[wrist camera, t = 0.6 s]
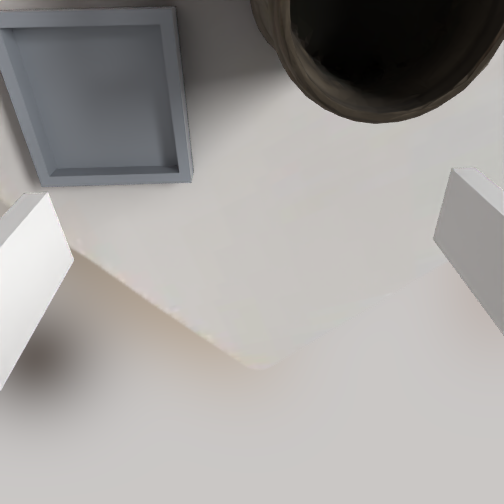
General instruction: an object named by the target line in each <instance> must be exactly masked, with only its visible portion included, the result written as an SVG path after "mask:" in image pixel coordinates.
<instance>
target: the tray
mask: <svg viewBox="0 0 504 504" xmlns="http://www.w3.org/2000/svg"><path fill="white" fill-rule="evenodd" d="M0 70H1V73H2V76H3V79H4V82H5V84H6V87H7V90H8V93H9V96H10V98H11V101H12V104H13V107H14V110H15V113H16V115H17V118H18V121H19V124H20V127H21V129H22V132H23V135H24V138H25V141H26V144H27V146H28V149H29V152H30V155H31V158H32V160H33V163H34V166H35V169H36V172H37V175H38V177H39V180H40V183H41V186H42V187H58V186H92V185H126V184H160V183H191V182H192V177H193V173H194V170H193V161H192V152H191V143H190V133H189V124H188V115H187V106H186V97H185V88H184V78H183V69H182V60H181V51H180V42H179V32H178V23H177V14H176V6H174V7H128V8H81V9H35V10H0Z"/></svg>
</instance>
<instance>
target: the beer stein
mask: <svg viewBox="0 0 504 504" xmlns="http://www.w3.org/2000/svg"><path fill="white" fill-rule="evenodd" d="M250 2H251V7H252V12H253V16H254V18H255V21H256V24H257V26H258V29H259V30H260V32H261V33H262V35H263V36H264V38H265V39H266V41H267V42H268V43H269V44H270V45H271V46H272V47H273V48H274V49H275V50H276V51H277V54H278V56H279V58H280V61H281V63H282V65H283V67H284V69H285V70H286V72H287V74H288V75H289V77H290V78H291V80H292V81H293V82H294V83H295V84H296V85H297V86H298V88H299V89H300V90H301V91H302V92H303V93H304V94H305V96H306V97H308V98H309V99H311V100H312V101H314V102H315V103H316V104H318V105H319V106H321V107H322V108H324V109H325V110H328V111H330V112H332V113H334V114H336V115H338V116H341V117H344V118H347V119H350V120H353V121H357V122H365V123H373V124H378V123H390V122H399V121H404V120H408V119H411V118H415V117H418V116H421V115H423V114H425V113H427V112H429V111H431V110H434V109H436V108H438V107H439V106H441V105H442V104H444V103H445V102H447V101H448V100H450V99H451V98H453V97H454V96H456V95H457V94H459V93H460V92H461V91H463V90H464V89H465V88H466V87H467V86H468V85H469V84H470V83H471V82H472V81H473V80H474V79H475V78H476V77H477V76H478V75H479V73H480V72H481V71H482V70H483V69H484V68H485V67H486V66H487V65H488V63H489V62H490V60H491V59H492V57H493V56H494V54H495V52H496V51H497V49H498V48H499V46H500V44H501V43H502V41H503V40H504V0H250Z"/></svg>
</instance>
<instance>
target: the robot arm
mask: <svg viewBox="0 0 504 504" xmlns="http://www.w3.org/2000/svg"><path fill="white" fill-rule="evenodd" d="M433 240H434V241H435V243H436V244H437V245H438V247H439V248H440V249H441V251H442V252H443V254H444V255H445V256H446V258H447V259H448V260H449V262H450V263H451V264H452V266H453V267H454V268H455V270H456V271H457V273H458V274H459V275H460V277H461V278H462V279H463V281H464V282H465V283H466V284H467V286H468V288H469V289H470V290H471V292H472V293H473V294H474V296H475V297H476V298H477V300H478V301H479V302H480V304H481V305H482V307H483V308H484V309H485V310H486V312H487V313H488V315H489V316H490V317H491V319H492V320H493V322H494V323H495V324H496V325H497V327H498V328H499V330H500V331H501V332H502V334H503V335H504V190H503V189H502V188H500V187H499V186H498V185H497V184H495V183H494V182H493V181H492V180H490V179H489V178H488V177H487V176H486V175H484V174H483V173H482V172H481V171H479V170H478V169H477V168H476V167H466V168H452V169H451V172H450V176H449V180H448V184H447V187H446V191H445V195H444V199H443V203H442V206H441V210H440V214H439V218H438V221H437V225H436V229H435V233H434V237H433ZM73 261H74V258H73V256H72V253H71V250H70V248H69V245H68V243H67V240H66V238H65V235H64V233H63V230H62V227H61V225H60V222H59V220H58V217H57V215H56V212H55V209H54V207H53V204H52V202H51V199H50V197H49V194H48V192H39V193H24V194H23V195H22V196H21V197H20V198H19V199H18V200H17V201H16V202H15V203H14V205H13V206H12V207H11V208H10V209H9V210H8V211H7V212H6V213H5V214H4V215H3V216H2V217H1V218H0V390H1V389H2V387H3V385H4V384H5V382H6V380H7V378H8V377H9V375H10V373H11V371H12V369H13V368H14V366H15V364H16V362H17V360H18V359H19V357H20V355H21V353H22V352H23V350H24V348H25V346H26V345H27V343H28V341H29V339H30V337H31V335H32V334H33V332H34V330H35V329H36V327H37V325H38V323H39V321H40V320H41V318H42V316H43V314H44V313H45V311H46V309H47V307H48V306H49V304H50V302H51V300H52V298H53V297H54V295H55V293H56V291H57V290H58V288H59V286H60V284H61V282H62V281H63V279H64V277H65V275H66V274H67V272H68V270H69V268H70V266H71V265H72V263H73Z"/></svg>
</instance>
